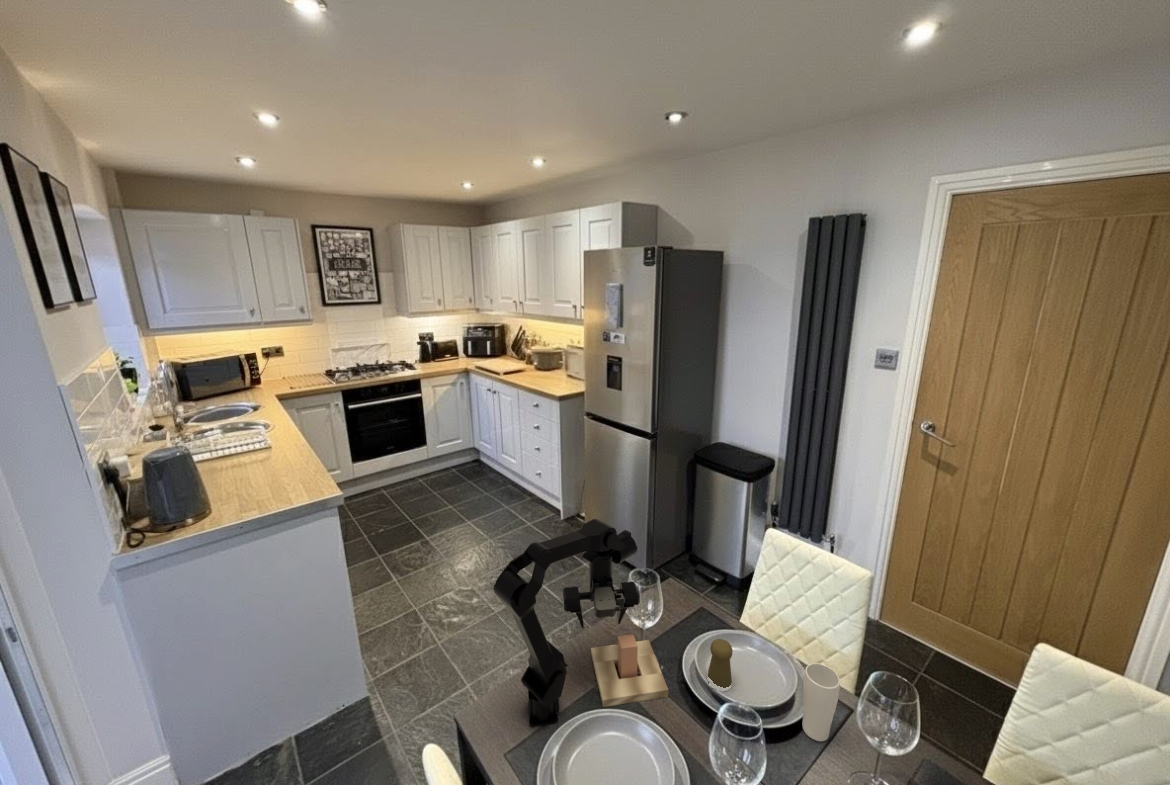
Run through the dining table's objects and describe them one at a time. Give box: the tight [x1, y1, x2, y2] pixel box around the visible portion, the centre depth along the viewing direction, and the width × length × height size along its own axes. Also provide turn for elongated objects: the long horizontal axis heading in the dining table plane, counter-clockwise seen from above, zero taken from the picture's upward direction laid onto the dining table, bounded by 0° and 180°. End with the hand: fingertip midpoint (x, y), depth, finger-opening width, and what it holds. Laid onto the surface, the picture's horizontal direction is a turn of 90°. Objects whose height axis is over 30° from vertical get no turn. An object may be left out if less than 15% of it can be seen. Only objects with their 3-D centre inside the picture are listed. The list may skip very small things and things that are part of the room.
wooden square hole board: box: [590, 639, 669, 708], centre depth 117 cm, size 16×16×2 cm
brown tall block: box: [617, 634, 638, 679], centre depth 116 cm, size 4×4×10 cm
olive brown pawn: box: [707, 638, 733, 688], centre depth 113 cm, size 6×6×11 cm
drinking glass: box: [802, 662, 841, 742], centre depth 100 cm, size 7×7×15 cm
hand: (600, 625), depth 116 cm, fingers open, 9 cm apart
